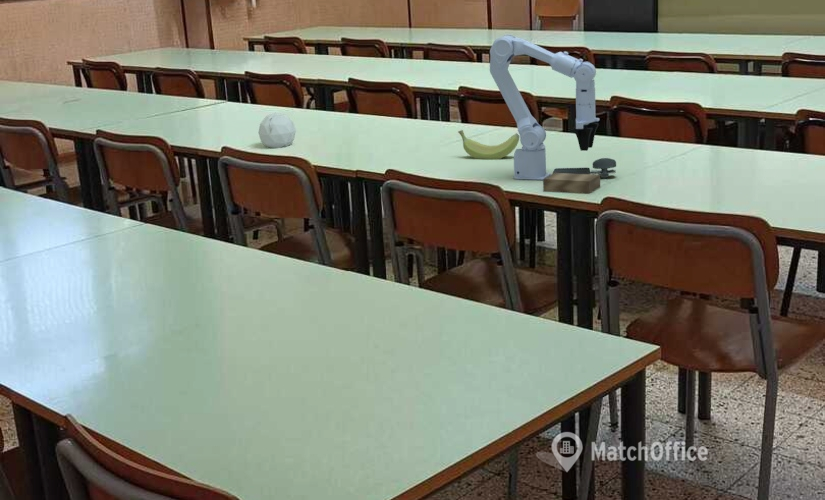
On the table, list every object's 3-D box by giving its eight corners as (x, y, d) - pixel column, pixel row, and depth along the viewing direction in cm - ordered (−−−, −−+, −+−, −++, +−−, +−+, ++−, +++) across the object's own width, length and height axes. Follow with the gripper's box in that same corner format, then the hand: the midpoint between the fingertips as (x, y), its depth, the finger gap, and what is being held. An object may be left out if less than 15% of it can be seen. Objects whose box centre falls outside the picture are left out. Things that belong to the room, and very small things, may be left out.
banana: (502, 173, 355) (449, 146, 359) (506, 169, 360) (454, 143, 364) (518, 137, 350) (465, 110, 353) (522, 134, 355) (470, 108, 358)
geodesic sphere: (294, 153, 396) (291, 114, 392) (256, 155, 396) (252, 117, 393) (299, 146, 410) (296, 109, 407) (263, 148, 411) (259, 111, 407)
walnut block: (543, 192, 308) (543, 178, 307) (555, 185, 316) (555, 172, 315) (589, 195, 302) (589, 181, 300) (600, 188, 309) (600, 174, 308)
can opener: (616, 176, 323) (616, 155, 321) (616, 179, 318) (615, 159, 316) (554, 177, 327) (553, 156, 325) (552, 180, 322) (551, 160, 321)
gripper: (592, 107, 309) (592, 153, 312) (605, 100, 321) (605, 144, 325) (568, 107, 312) (569, 153, 315) (582, 100, 324) (583, 144, 328)
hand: (586, 148), depth 320 cm, fingers open, 4 cm apart
